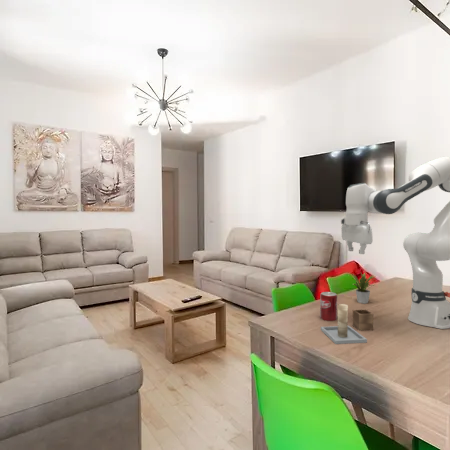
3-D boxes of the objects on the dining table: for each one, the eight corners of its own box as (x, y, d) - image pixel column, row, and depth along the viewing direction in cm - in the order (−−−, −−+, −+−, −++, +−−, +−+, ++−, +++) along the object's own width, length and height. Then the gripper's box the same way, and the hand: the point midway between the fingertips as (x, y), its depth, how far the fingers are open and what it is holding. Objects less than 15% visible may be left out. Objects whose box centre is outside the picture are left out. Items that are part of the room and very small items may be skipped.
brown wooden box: (365, 326, 136) (365, 309, 135) (373, 332, 130) (373, 313, 129) (352, 327, 135) (352, 310, 135) (359, 332, 129) (359, 314, 129)
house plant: (384, 306, 163) (384, 275, 162) (356, 306, 163) (357, 275, 162) (372, 299, 177) (372, 269, 176) (346, 299, 178) (347, 269, 177)
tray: (348, 330, 132) (348, 325, 132) (366, 344, 118) (367, 339, 118) (320, 331, 131) (320, 326, 131) (335, 346, 117) (335, 340, 117)
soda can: (326, 323, 140) (326, 296, 139) (317, 318, 147) (317, 292, 146) (340, 321, 142) (340, 295, 141) (330, 316, 149) (331, 291, 148)
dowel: (344, 333, 126) (345, 303, 126) (349, 337, 123) (349, 306, 122) (336, 334, 126) (336, 304, 125) (340, 337, 122) (340, 306, 122)
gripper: (377, 221, 128) (376, 255, 129) (352, 220, 149) (351, 249, 149) (362, 221, 128) (361, 256, 128) (339, 220, 148) (338, 249, 149)
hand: (356, 252), depth 139 cm, fingers open, 8 cm apart
